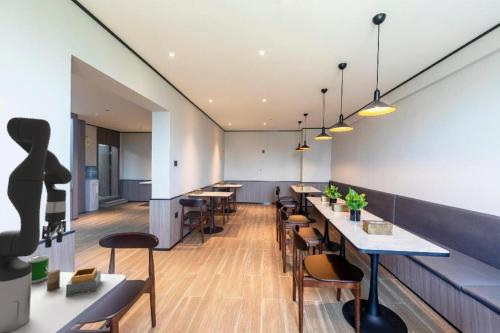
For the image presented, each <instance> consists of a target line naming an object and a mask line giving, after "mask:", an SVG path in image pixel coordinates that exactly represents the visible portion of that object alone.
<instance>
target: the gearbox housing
mask: <svg viewBox="0 0 500 333" xmlns="http://www.w3.org/2000/svg"><path fill="white" fill-rule="evenodd" d="M101 278H102V271H101V270H98V267H90V268H89V267H88V268H81V269H76V270H75V271H74V273H73V274H72V276H71V278H70V279H69V281H68V282H67V283H66V285H65V287H66V288H65V297H73V296H78V295H81V294H82V295H83V294H88V293H89V294H90V293H93V292H97V289H98V287H99V285H100V282H101Z"/></svg>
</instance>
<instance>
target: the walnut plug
mask: <svg viewBox="0 0 500 333" xmlns="http://www.w3.org/2000/svg"><path fill="white" fill-rule="evenodd" d="M46 279H47V280H46V282H47V283H46V292H54V291H57V290H58V289H60V279H61V269H58V268H57V269H52V270H48V274H47V278H46Z"/></svg>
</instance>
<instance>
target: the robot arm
mask: <svg viewBox="0 0 500 333" xmlns="http://www.w3.org/2000/svg"><path fill="white" fill-rule="evenodd" d="M6 131H7V134H8V135H9V137H10V138H11V139H12V140H13V142H15V143H16V145H18V146H19V147H20V148H21V149H22V150H23V151H24V152H26V153H27V155H26V157H25V158H24V159H23V160H22V161H20V163H19V164H18V165H17V166H16V167H15V168H14V169H12V171H11V172H10V174H9V176H8V181H7V190H6V195H7V197H8V200H9V202H10V203H11V204H12V206H13V207H14V209H15V210H16V211H17V214H18V217H19V219H20V228H19V229H18V230H17V229H16V230H15V229H13V230H5V231H1V232H0V333H9V332H13V331H17V330H18V329H19V328H20V327H22V326H24V325H25V324H27V323H28V322H29V320H30V318H31V293H32V283H31V277H32V265H31V264H30V263H28V262H27V261H25V260H22V259H20V257H21V258H22V257H29V256H33V254H34V253H35V252H36V251H37V249H38V247H39V244H40V239H41V240H45V241H44V248H45V249H50V248H52V246H53V245H52V244H53V237H54V235H56V240H55V242H56V243H58V244H59V243H62V242H63V235H64V234H65V233H66V232H67V220H66V217H67V216H66V213H67V203H66V201H67V190H65V189H64V188H63V189H62V188H57V187H56V185H66V184H67V185H68V184H69V183H70V182H71V181H72V178H73V174H72V172H71V171H70V170H69V169H68V168H67V167H65V165H63V164H62V163H61V161H60V160H59V159H58V157H57V155H56V154H55V153H54V152H52V151H51V150H50V149H48V148H49V144H50V140H51V134H52V133H51V132H52V131H51V125H50V123H49V121H47V120H46V119H41V118H32V117H19V116H18V117H12V118H10V119H9V120H8V121H7V123H6ZM44 186H45V190H46V202H45V203H46V204H45V211H44V212H45V213H44V215H45V216H44V221H45V222H46V223H47V225H43V226H42V231H41V224H40V223H41V222H40V221H41V214H40V213H41V203H42V202H41V201H42V194H43V189H44ZM40 237H41V238H40Z"/></svg>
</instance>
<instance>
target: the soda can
mask: <svg viewBox="0 0 500 333" xmlns="http://www.w3.org/2000/svg"><path fill="white" fill-rule="evenodd" d="M49 258H50V257H49V255H47V254H44V253H43V254H36V255H32V256H31V257H30V258H29V259H28V263H30V264H31V265H32V277H31V284H39V283H41V282H44V281H45V280H46V279H47V274H48V272H49V260H50V259H49Z"/></svg>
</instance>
